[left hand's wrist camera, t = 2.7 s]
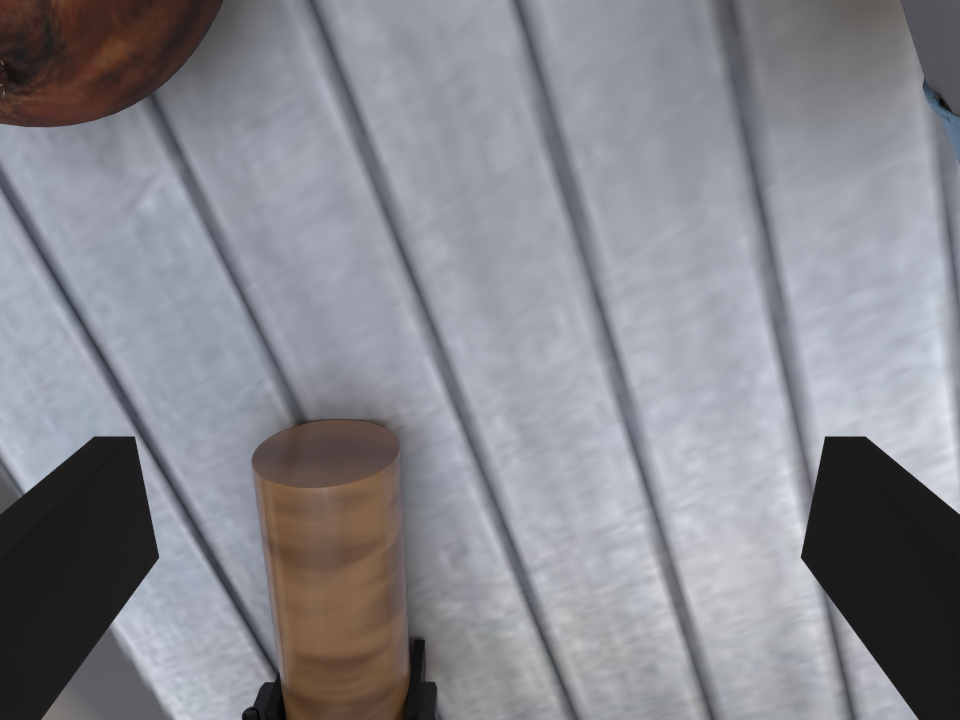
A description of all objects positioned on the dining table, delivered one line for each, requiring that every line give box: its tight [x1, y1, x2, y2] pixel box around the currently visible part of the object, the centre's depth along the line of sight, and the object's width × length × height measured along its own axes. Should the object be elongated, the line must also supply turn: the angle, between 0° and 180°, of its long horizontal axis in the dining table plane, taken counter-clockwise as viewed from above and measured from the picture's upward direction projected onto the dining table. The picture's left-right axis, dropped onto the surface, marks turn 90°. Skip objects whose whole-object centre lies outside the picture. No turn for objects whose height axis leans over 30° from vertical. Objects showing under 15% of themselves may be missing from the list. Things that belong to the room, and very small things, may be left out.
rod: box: [252, 420, 410, 720], centre depth 44 cm, size 24×9×9 cm, turn 0°
